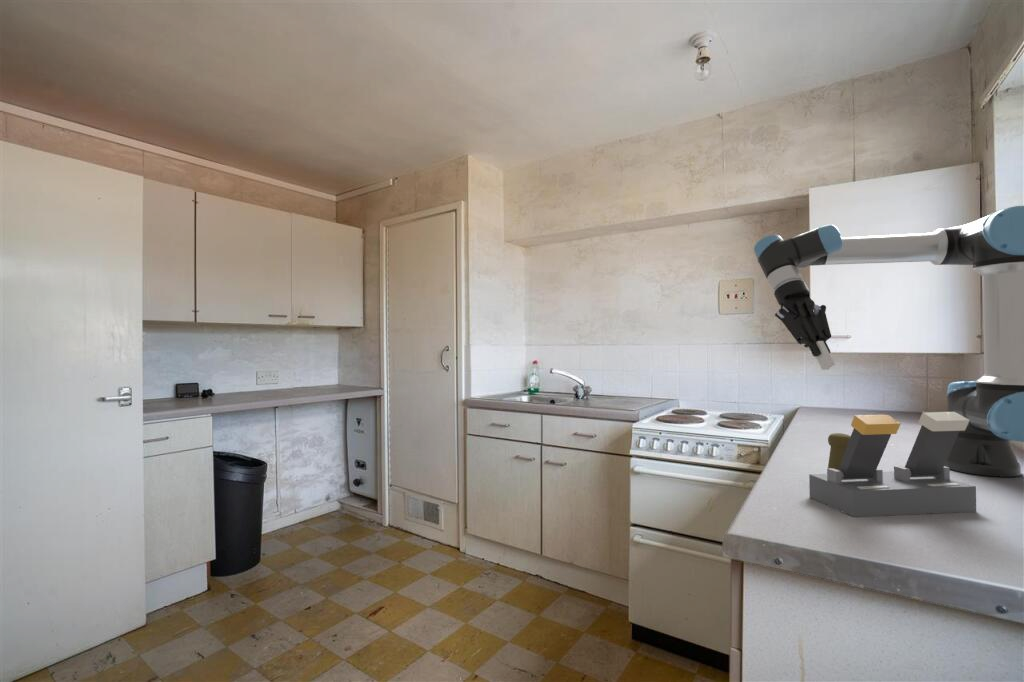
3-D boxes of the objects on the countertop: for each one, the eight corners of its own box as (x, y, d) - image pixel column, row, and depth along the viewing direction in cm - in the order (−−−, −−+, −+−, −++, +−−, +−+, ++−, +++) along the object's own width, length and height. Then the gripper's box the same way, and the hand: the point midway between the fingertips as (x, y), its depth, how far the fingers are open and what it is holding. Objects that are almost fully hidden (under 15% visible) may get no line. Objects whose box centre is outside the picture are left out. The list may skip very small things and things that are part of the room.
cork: (846, 474, 121) (845, 431, 121) (861, 481, 115) (860, 436, 115) (821, 474, 122) (820, 431, 122) (835, 481, 116) (834, 436, 116)
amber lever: (832, 473, 100) (854, 415, 94) (863, 472, 101) (887, 414, 95) (843, 484, 97) (866, 424, 91) (874, 483, 98) (900, 423, 92)
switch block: (919, 492, 106) (919, 459, 106) (976, 511, 94) (975, 473, 94) (809, 497, 104) (809, 462, 104) (853, 516, 92) (852, 478, 92)
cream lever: (898, 471, 101) (922, 412, 96) (928, 470, 102) (954, 411, 96) (911, 481, 98) (936, 420, 93) (942, 480, 99) (969, 420, 93)
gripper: (802, 293, 129) (842, 371, 118) (758, 297, 128) (794, 376, 116) (820, 276, 123) (864, 357, 111) (773, 280, 121) (813, 362, 110)
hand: (828, 367), depth 114 cm, fingers closed
